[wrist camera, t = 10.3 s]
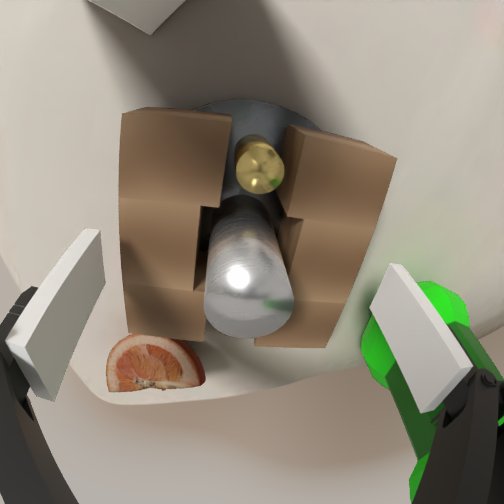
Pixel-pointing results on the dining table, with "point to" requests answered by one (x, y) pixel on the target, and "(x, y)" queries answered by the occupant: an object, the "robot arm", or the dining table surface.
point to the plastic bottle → (393, 379)
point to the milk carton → (141, 11)
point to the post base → (248, 224)
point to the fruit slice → (152, 364)
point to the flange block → (208, 194)
